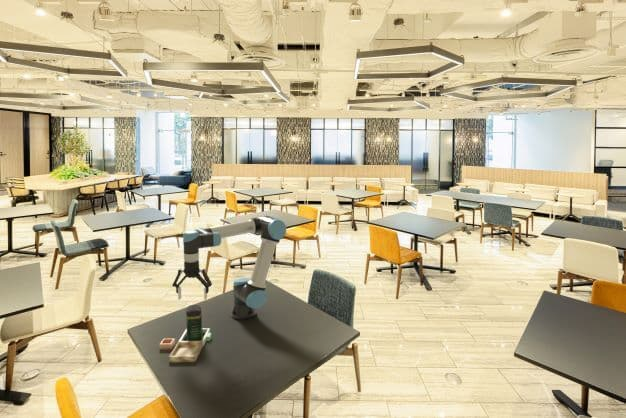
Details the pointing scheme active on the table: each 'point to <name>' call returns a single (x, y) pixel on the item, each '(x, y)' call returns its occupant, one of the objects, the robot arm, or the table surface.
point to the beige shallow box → (186, 351)
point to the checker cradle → (204, 330)
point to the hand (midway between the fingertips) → (192, 298)
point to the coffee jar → (194, 323)
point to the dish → (167, 344)
